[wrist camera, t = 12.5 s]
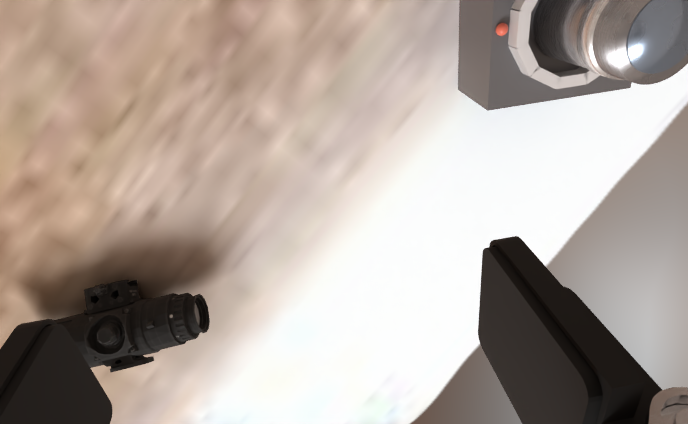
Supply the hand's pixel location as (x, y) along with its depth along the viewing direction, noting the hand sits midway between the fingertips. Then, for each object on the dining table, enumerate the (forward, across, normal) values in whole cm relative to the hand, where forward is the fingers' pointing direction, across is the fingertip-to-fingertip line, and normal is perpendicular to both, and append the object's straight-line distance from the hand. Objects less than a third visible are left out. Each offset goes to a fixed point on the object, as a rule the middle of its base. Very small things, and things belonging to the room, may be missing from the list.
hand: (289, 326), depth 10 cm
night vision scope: (+29, +20, +20) cm, 40 cm away
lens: (+22, -20, -2) cm, 30 cm away
